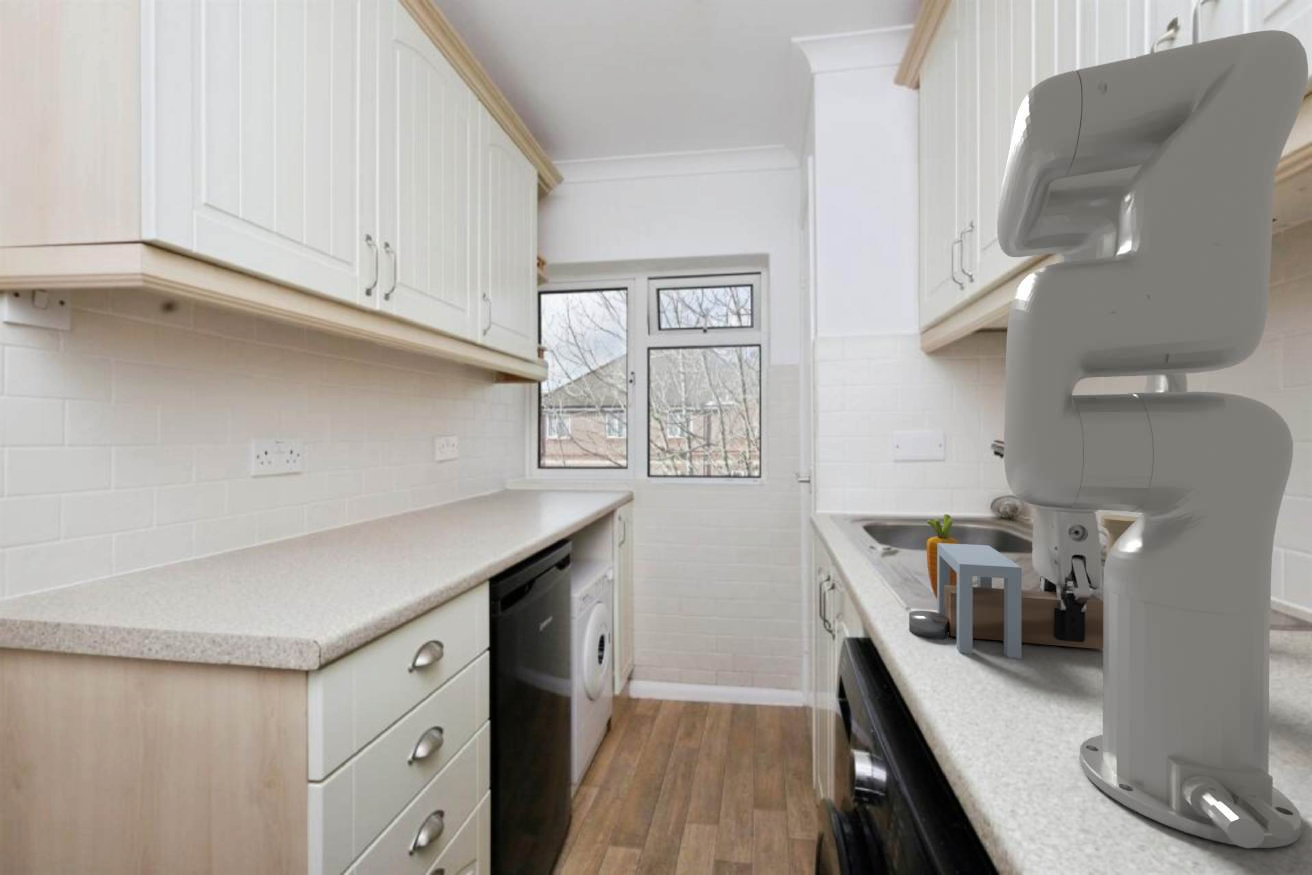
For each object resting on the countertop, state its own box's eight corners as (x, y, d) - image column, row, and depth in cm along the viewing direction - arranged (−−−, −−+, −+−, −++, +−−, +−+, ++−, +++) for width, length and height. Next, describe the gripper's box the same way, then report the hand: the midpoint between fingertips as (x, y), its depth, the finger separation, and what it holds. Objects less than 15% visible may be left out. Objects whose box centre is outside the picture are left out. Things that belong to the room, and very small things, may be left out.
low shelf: (1021, 658, 70) (1021, 567, 70) (959, 652, 72) (959, 563, 72) (988, 621, 83) (988, 545, 83) (937, 617, 85) (937, 542, 85)
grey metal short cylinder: (950, 641, 76) (950, 623, 76) (910, 636, 77) (910, 619, 77) (945, 629, 80) (945, 612, 80) (907, 625, 82) (907, 609, 82)
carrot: (939, 612, 88) (939, 517, 87) (919, 603, 92) (919, 513, 92) (967, 610, 88) (967, 516, 88) (946, 601, 93) (946, 512, 93)
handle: (1145, 612, 87) (1146, 517, 87) (1137, 621, 83) (1137, 521, 83) (1106, 605, 91) (1107, 514, 91) (1096, 613, 87) (1097, 518, 86)
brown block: (1106, 649, 71) (1105, 602, 71) (950, 635, 77) (950, 592, 77) (1091, 638, 75) (1091, 594, 75) (944, 626, 80) (944, 585, 80)
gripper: (1129, 506, 65) (1128, 661, 65) (1068, 492, 81) (1068, 616, 81) (1054, 504, 67) (1054, 654, 68) (1010, 490, 83) (1009, 612, 84)
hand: (1061, 632), depth 74 cm, fingers closed on brown block, 4 cm apart
